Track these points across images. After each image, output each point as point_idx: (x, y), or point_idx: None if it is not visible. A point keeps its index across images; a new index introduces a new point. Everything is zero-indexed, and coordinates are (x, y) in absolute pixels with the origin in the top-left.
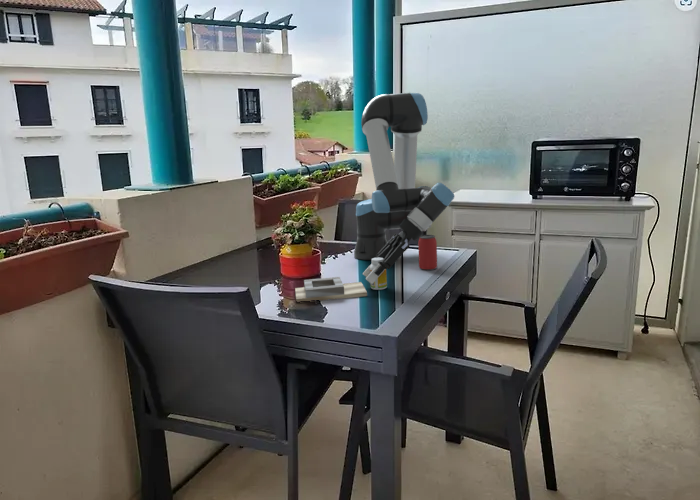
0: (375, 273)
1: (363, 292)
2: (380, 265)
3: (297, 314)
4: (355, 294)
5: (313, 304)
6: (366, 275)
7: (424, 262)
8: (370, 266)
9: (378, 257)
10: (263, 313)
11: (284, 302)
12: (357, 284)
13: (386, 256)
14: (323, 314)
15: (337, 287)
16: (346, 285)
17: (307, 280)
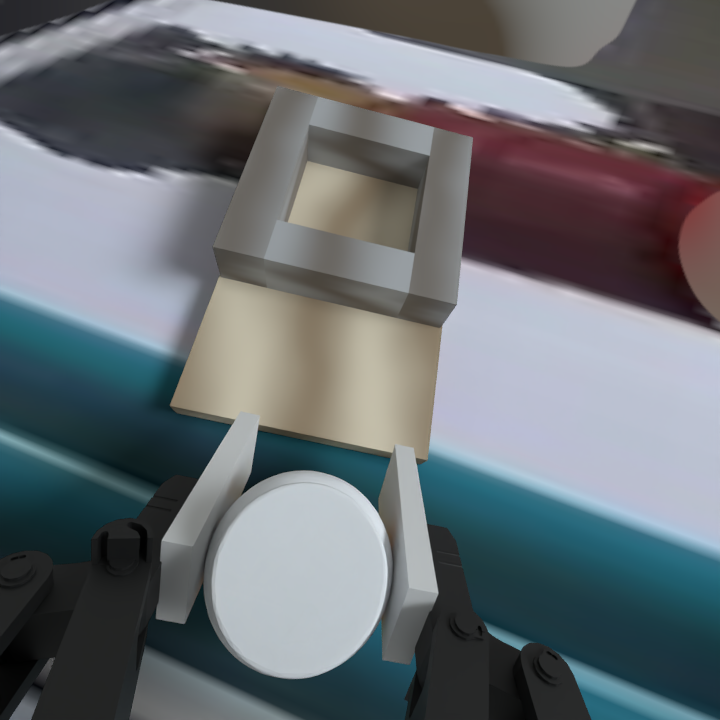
0: (173, 480)
1: (181, 383)
2: (163, 555)
3: (132, 69)
4: (199, 338)
5: (222, 149)
6: (388, 477)
7: None
8: (323, 479)
9: (372, 620)
10: (232, 4)
11: (323, 83)
12: (380, 415)
13: (76, 695)
14: (47, 134)
15: (225, 215)
16: (391, 348)
17: (455, 146)
